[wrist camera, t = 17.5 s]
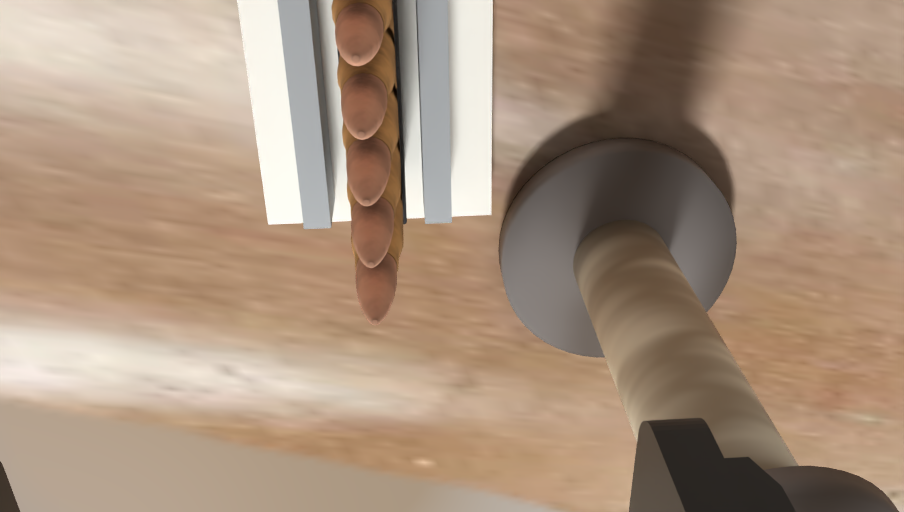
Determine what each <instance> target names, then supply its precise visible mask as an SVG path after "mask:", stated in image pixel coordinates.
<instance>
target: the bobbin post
mask: <svg viewBox="0 0 904 512" xmlns="http://www.w3.org/2000/svg"><path fill="white" fill-rule="evenodd" d="M736 244H737V242H736V228H735V223H734V219H733V215H732V213H731V210H730V207H729V205H728V203H727V201H726V199H725V198H724V196H723V194H722V193H721V191H720V190H719V189H718V188H717V187H716V185H715V184H714V183H713V182H712V180H711V179H710V178H709V177H708V176H707V174H706V173H705V172H704V171H703V169H702V168H701V167H700V166H699V165H697V164H696V163H695V162H694V161H693V160H692V159H691V158H689V157H688V156H686V155H684V154H683V153H681V152H680V151H678V150H676V149H674V148H671V147H669V146H667V145H664V144H661V143H657V142H654V141H649V140H643V139H635V138H618V139H608V140H602V141H598V142H593V143H589V144H586V145H583V146H581V147H578V148H575V149H573V150H571V151H569V152H567V153H565V154H563V155H560V156H559V157H557V158H556V159H554V160H553V161H551V162H550V163H548V164H546V165H545V166H544V167H543V168H542V169H540V170H539V171H538V172H537V173H536V174H534V175H533V177H532V178H531V179H530V180H529V181H528V182H527V183H526V184H525V185H524V186H523V188H522V189H521V190H520V192H519V193H518V194H517V196H516V197H515V199H514V200H513V202H512V204H511V206H510V208H509V210H508V212H507V214H506V217H505V220H504V222H503V225H502V230H501V234H500V240H499V263H500V268H501V272H502V277H503V281H504V286H505V290H506V294H507V296H508V299H509V302H510V304H511V306H512V308H513V310H514V311H515V313H516V315H517V316H518V318H519V319H520V320H521V321H522V323H523V324H524V325H525V326H526V327H527V328H528V329H529V330H530V331H531V332H532V333H533V334H534V335H536V336H537V337H539V338H540V339H541V340H543V341H544V342H546V343H548V344H550V345H552V346H554V347H556V348H558V349H561V350H563V351H566V352H569V353H573V354H577V355H582V356H589V357H605V359H606V361H607V364H608V367H609V369H610V372H611V375H612V377H613V380H614V383H615V385H616V388H617V391H618V393H619V396H620V399H621V401H622V404H623V407H624V409H625V412H626V415H627V417H628V420H629V423H630V425H631V428H632V430H633V433H634V436H635V438H636V441H637V439H638V432H639V428H640V425H641V423H642V422H643V421H648V420H666V419H684V418H702V419H703V420H705V422H706V423H707V425H708V426H709V428H710V430H711V432H712V434H713V436H714V438H715V440H716V442H717V444H718V446H719V448H720V450H721V452H722V454H723V456H724V458H735V457H749V458H751V459H752V460H753V461H754V462H755V463H756V464H757V465H759V466H760V467H761V468H762V469H763V470H764V471H765V472H766V473H768V474H769V475H770V476H771V477H772V478H773V479H774V480H775V481H777V482H778V483H779V484H780V485H781V486H782V487H783V489H784V491H785V493H786V495H787V496H788V498H789V500H790V502H791V504H792V505H793V507H794V509H795V511H796V512H899V511H898V510H897V508H896V507H895V505H894V504H893V503H892V501H891V500H890V499H889V498H888V497H887V496H886V494H885V493H884V492H883V491H882V490H880V489H879V488H878V487H876V486H875V485H874V484H872V483H871V482H869V481H867V480H865V479H863V478H861V477H859V476H857V475H854V474H851V473H848V472H845V471H841V470H837V469H832V468H827V467H816V466H798V464H797V462H796V461H795V459H794V457H793V456H792V454H791V452H790V451H789V449H788V447H787V446H786V444H785V442H784V441H783V439H782V437H781V436H780V434H779V432H778V431H777V429H776V427H775V426H774V424H773V422H772V421H771V419H770V417H769V416H768V414H767V412H766V411H765V409H764V407H763V406H762V404H761V402H760V401H759V399H758V397H757V396H756V394H755V392H754V391H753V389H752V387H751V386H750V384H749V382H748V381H747V379H746V377H745V376H744V374H743V372H742V371H741V369H740V367H739V366H738V364H737V362H736V361H735V359H734V357H733V356H732V354H731V352H730V351H729V349H728V348H727V346H726V344H725V343H724V341H723V339H722V338H721V336H720V334H719V333H718V331H717V329H716V328H715V326H714V324H713V323H712V321H711V319H710V318H709V316H708V314H707V313H706V312H707V311H708V310H709V309H710V308H711V307H712V306H713V304H714V303H715V301H716V300H717V299H718V297H719V296H720V294H721V292H722V291H723V289H724V287H725V285H726V283H727V281H728V279H729V276H730V273H731V271H732V268H733V264H734V259H735V254H736Z"/></svg>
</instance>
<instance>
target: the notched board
mask: <svg viewBox="0 0 904 512" xmlns="http://www.w3.org/2000/svg"><path fill="white" fill-rule="evenodd" d="M332 2H333V0H237V4H238V11H239V18H240V25H241V32H242V39H243V47H244V54H245V61H246V68H247V75H248V82H249V90H250V97H251V104H252V111H253V118H254V125H255V133H256V140H257V147H258V154H259V161H260V168H261V176H262V183H263V190H264V197H265V204H266V211H267V219H268V225H269V224H291V223H303V225H304V229H318V228H331V225H332V222H337V221H351V207H350V203H349V201H348V197H347V170H346V149H345V147H344V144H343V138H342V127H343V117H342V111H341V90H340V88H339V85H338V79H337V69H338V52H337V45H336V40H335V23H334V21H333V19H332ZM397 14H398V35H399V56H400V78H401V99H402V120H403V141H404V163H405V188H406V214H407V218H425V224H431V223H452V216H474V215H491V174H492V28H493V0H397Z"/></svg>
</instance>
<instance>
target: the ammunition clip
mask: <svg viewBox="0 0 904 512" xmlns="http://www.w3.org/2000/svg"><path fill="white" fill-rule="evenodd" d="M332 19H333V21H334V23H335V40H336V45H337V52H338V69H337V79H338V85H339V88H340V90H341V111H342V117H343V127H342V138H343V144H344V147H345V149H346V170H347V197H348V201H349V203H350V207H351V230H352V232H351V244H352V251H353V254H354V257H355V270H356V289H357V296H358V301H359V304H360V307H361V309H362V311H363V314H364V315H365V317H366V319H367V320H368V321H369V322H370V323H371V324H373V325H378V324H379V323H380V322H382V321H383V319H384V318H385V317H386V315H387V314H388V312H389V310H390V307H391V304H392V302H393V299H394V295H395V290H396V285H397V271H398V263H399V257H400V254H401V251H402V248H403V224H406V222H407V214H406V188H405V163H404V141H403V120H402V99H401V78H400V56H399V35H398V14H397V0H333V2H332Z"/></svg>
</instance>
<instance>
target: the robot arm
mask: <svg viewBox="0 0 904 512" xmlns="http://www.w3.org/2000/svg"><path fill="white" fill-rule="evenodd" d="M0 512H20V510H19V508H18V505H17V502H16V500H15V497H14V494H13V491H12V489H11V486H10V483H9V481H8V478H7V475H6V473H5V471H4V468H3V465H2V463H1V462H0ZM629 512H796V511H795V509H794V507H793V505H792V504H791V502H790V500H789V498H788V496H787V495H786V493H785V491H784V489H783V487H782V486H781V485H780V484H779V483H778V482H777V481H775V480H774V479H773V478H772V477H771V476H770V475H769V474H768V473H766V472H765V471H764V470H763V469H762V468H761V467H760V466H759V465H757V464H756V463H755V462H754V461H753V460H752V459H751V458H749V457H735V458H724V456H723V454H722V452H721V450H720V448H719V446H718V444H717V442H716V440H715V438H714V436H713V434H712V432H711V430H710V428H709V426H708V425H707V423H706V422H705V420H703V419H702V418H684V419H666V420H648V421H643V422H642V423H641V425H640V428H639V432H638V439H637V448H636V456H635V465H634V473H633V481H632V490H631V498H630V507H629Z"/></svg>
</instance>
